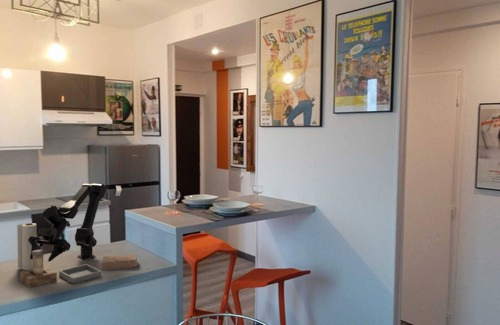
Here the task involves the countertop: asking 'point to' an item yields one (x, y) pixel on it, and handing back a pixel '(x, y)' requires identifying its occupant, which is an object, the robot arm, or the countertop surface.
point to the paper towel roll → (25, 245)
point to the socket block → (38, 277)
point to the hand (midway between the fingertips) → (39, 260)
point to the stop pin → (37, 262)
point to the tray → (79, 273)
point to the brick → (119, 262)
